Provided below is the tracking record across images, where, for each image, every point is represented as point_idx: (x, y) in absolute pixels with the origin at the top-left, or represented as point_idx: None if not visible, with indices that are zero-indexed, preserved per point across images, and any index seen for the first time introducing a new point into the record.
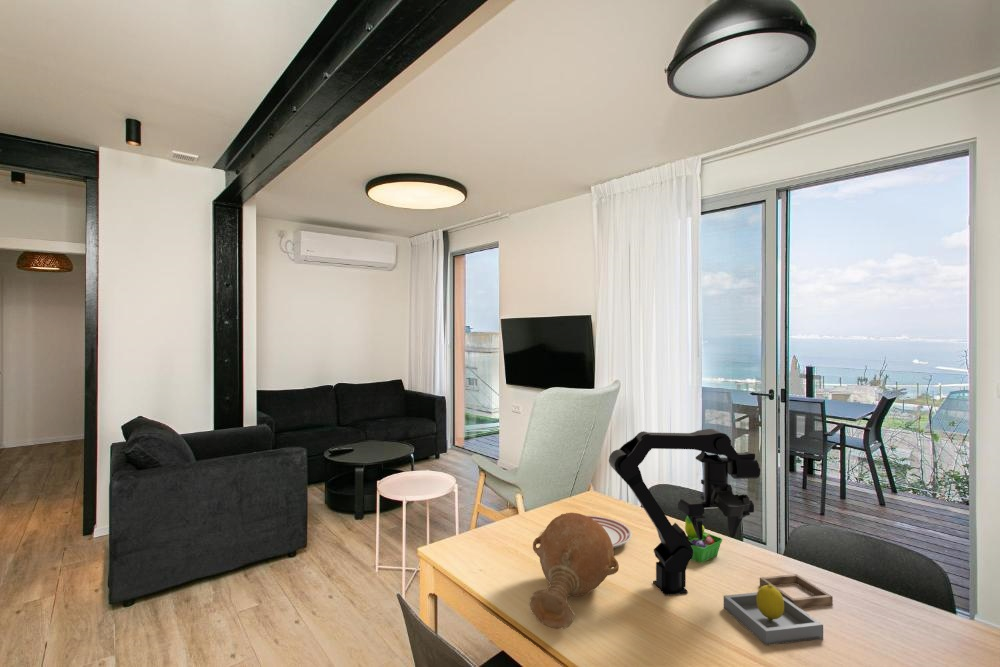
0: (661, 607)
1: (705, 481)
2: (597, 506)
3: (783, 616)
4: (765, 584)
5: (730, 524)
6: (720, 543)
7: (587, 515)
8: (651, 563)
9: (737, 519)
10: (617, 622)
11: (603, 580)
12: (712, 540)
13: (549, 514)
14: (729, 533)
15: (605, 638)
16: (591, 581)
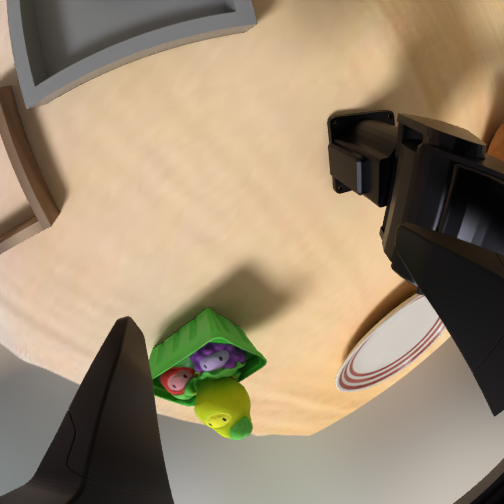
0: (412, 62)
1: None
2: (322, 416)
3: (62, 9)
4: (42, 197)
5: (141, 424)
6: None
7: (372, 385)
8: (344, 276)
9: (73, 481)
10: (477, 44)
11: (502, 136)
12: (167, 381)
13: (399, 372)
14: (146, 354)
15: (489, 18)
16: None
